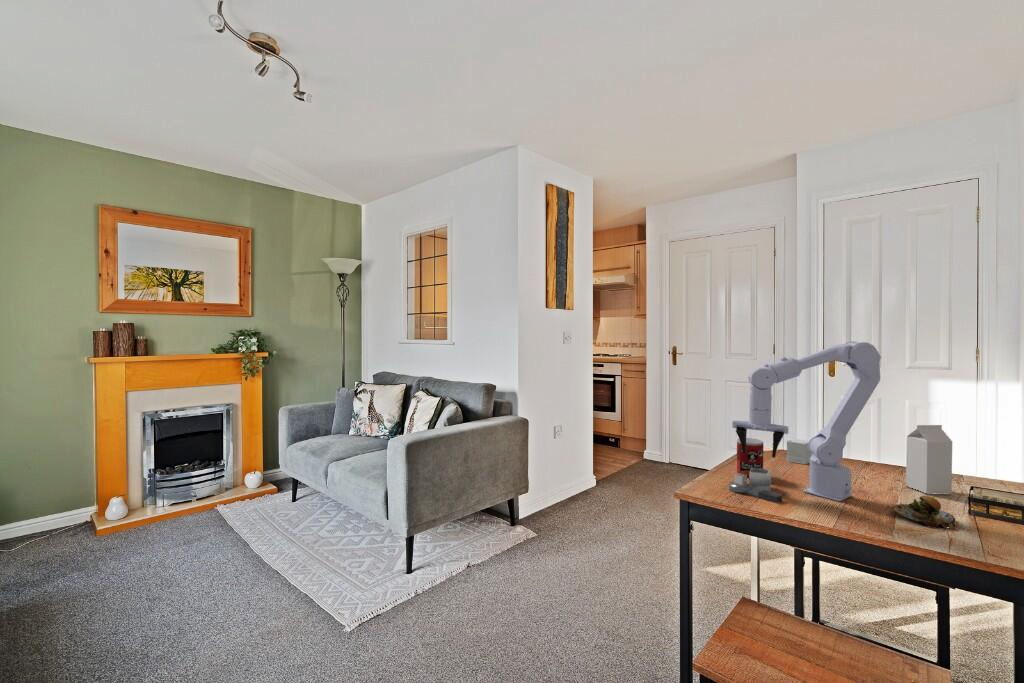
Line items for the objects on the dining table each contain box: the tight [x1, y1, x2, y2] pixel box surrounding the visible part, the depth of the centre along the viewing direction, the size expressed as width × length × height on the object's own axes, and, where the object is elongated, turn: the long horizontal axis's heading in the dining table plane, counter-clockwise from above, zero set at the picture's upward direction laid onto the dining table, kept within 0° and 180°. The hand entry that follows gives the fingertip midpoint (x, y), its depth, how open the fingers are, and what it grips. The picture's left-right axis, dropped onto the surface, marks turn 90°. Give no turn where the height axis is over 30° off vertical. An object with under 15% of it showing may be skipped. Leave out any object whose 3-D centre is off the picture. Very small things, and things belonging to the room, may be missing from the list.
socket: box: [748, 467, 772, 491], centre depth 140 cm, size 5×5×5 cm
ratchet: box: [728, 472, 783, 504], centre depth 135 cm, size 14×6×5 cm, turn 34°
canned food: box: [736, 437, 764, 479], centre depth 153 cm, size 8×8×11 cm
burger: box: [892, 494, 956, 529], centre depth 117 cm, size 12×12×8 cm
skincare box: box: [786, 438, 812, 465], centre depth 168 cm, size 6×6×7 cm
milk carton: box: [905, 424, 953, 495], centre depth 137 cm, size 7×7×19 cm
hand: (759, 454), depth 141 cm, fingers open, 7 cm apart
